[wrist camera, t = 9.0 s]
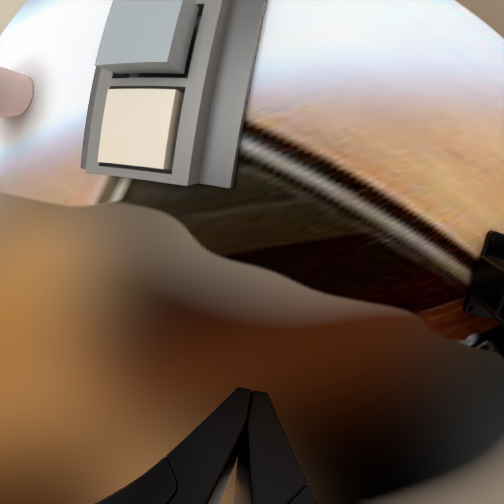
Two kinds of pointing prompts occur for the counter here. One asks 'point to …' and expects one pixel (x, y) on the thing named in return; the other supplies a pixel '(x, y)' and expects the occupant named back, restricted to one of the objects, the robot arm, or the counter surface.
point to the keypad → (193, 98)
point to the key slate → (147, 36)
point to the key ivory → (140, 127)
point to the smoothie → (14, 93)
